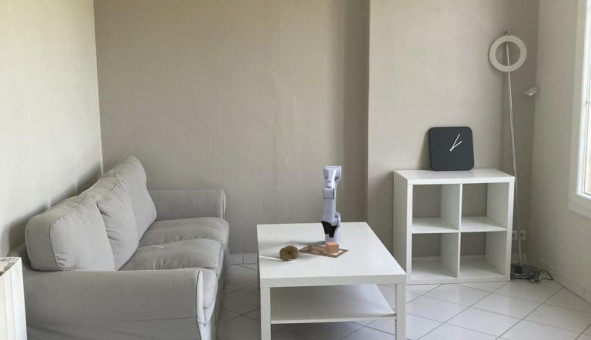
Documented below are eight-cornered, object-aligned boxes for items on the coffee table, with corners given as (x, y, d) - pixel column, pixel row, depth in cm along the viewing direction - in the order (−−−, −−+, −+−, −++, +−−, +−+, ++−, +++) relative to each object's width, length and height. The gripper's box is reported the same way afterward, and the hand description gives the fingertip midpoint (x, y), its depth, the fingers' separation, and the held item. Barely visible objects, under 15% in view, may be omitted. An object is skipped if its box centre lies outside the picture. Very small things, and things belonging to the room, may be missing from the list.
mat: (329, 249, 323) (329, 248, 323) (342, 251, 319) (342, 250, 319) (322, 253, 316) (322, 252, 316) (335, 255, 312) (335, 254, 312)
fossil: (277, 247, 310) (296, 242, 312) (278, 252, 314) (296, 247, 315) (282, 262, 305) (300, 257, 306) (282, 266, 308) (301, 261, 310)
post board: (309, 246, 334) (309, 238, 333) (349, 251, 322) (349, 243, 321) (295, 253, 320) (295, 245, 319) (335, 259, 308) (335, 251, 307)
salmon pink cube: (335, 250, 321) (335, 241, 320) (338, 252, 316) (338, 244, 315) (325, 250, 320) (325, 242, 319) (329, 253, 314) (329, 245, 314)
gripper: (317, 208, 323) (317, 233, 325) (326, 214, 309) (326, 239, 311) (330, 207, 325) (330, 231, 327) (339, 213, 311) (339, 238, 313)
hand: (329, 235), depth 319 cm, fingers open, 7 cm apart
